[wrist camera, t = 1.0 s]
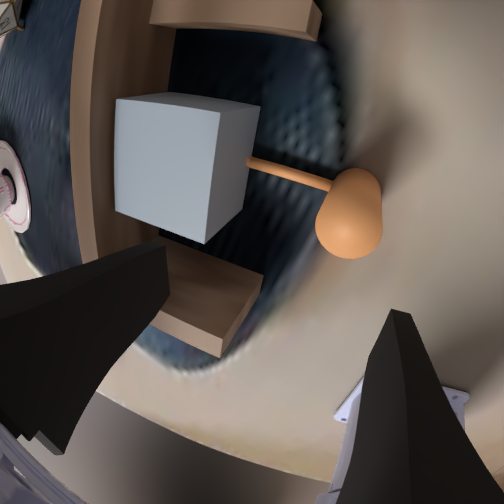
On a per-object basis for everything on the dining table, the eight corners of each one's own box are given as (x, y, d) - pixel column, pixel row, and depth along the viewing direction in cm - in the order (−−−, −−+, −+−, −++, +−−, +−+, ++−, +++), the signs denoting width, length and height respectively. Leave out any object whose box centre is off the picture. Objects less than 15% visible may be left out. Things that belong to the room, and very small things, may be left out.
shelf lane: (322, 13, 11) (290, -30, 6) (259, 294, 21) (219, 358, 16) (159, 6, 13) (82, -7, 8) (142, 246, 23) (87, 289, 18)
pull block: (398, 146, 13) (407, 167, 9) (361, 250, 16) (353, 299, 13) (170, 91, 16) (116, 99, 12) (163, 184, 19) (115, 210, 15)
